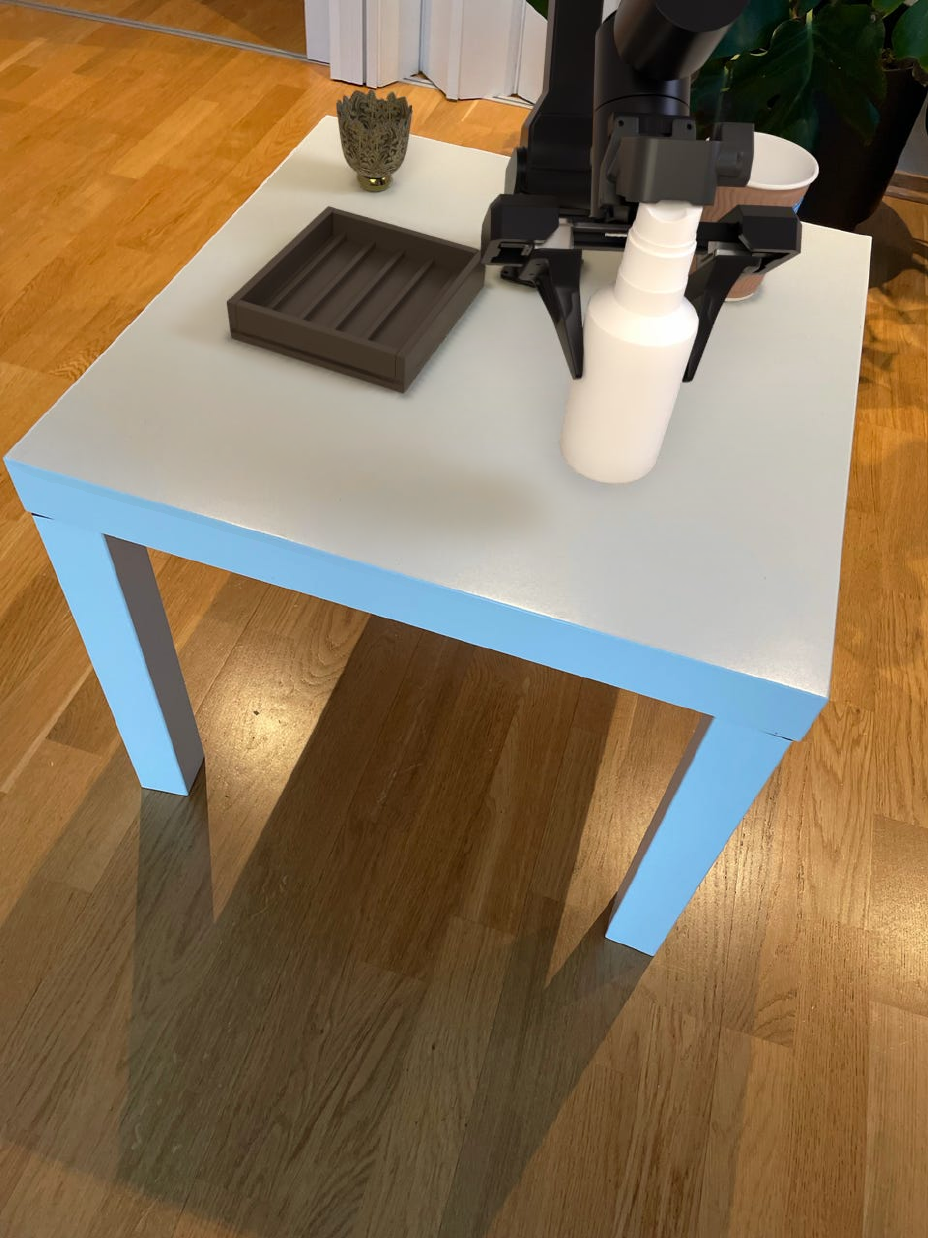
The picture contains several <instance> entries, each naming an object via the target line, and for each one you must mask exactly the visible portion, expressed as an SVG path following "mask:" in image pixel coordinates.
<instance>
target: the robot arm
mask: <svg viewBox="0 0 928 1238" xmlns="http://www.w3.org/2000/svg"><path fill="white" fill-rule="evenodd" d="M750 1H751V0H620V1H619V3H618V6H617V8H616V9H615V10H614V11H612V12H611V13H610V14H609V15H608V16H606V18H604V20H603V16H604V8H605V7H604V5H605V0H548V6H547V7H548V9H547V19H546V20H547V21H546V35H545V48H544V49H545V50H544V64H543V75H542V76H543V78H542V88H541V89H542V90H541V93H540V95H539V97H538V98H537V100H536V102H535V103H534V105H533V107H532V108H531V110H530V111H529V113H528V115H527V116H526V118H525V120H524V121H523V123H522V125H521V127H520V137H519V146H515V147H514V148H513V151H512V153H511V155H510V157H509V160H508V163H507V165H506V167H505V173H504V189H503V193H499V194H498V195H497V196H496V197H495V198H494V199H493V200H492V202H490V204H489V206H488V208H487V210H486V213H485V215H484V218H483V221H482V223H481V232H480V233H481V234H480V250H481V263H483V264H486V266H497V267H499V266H500V267H502V268H501V269H500V271H499V277H500V279H502V280H505V281H510V282H513V283H515V284H520V285H523V286H526V287H529V288H533V289H536V290H537V293H538V294H539V297H540V298H541V300H542V302H543V304H544V306H545V308H546V311H547V312H548V315H549V317H550V319H551V322H552V324H553V328H554V330H555V333H556V335H557V338H558V341H559V344H560V347H561V350H562V352H563V356H564V358H565V361H566V364H567V367H568V370H569V372H570V376H571V379H572V378H573V380H579V379H581V378H582V373H583V358H584V347H583V331H582V327H583V319H582V318H583V317H582V301H581V300H582V299H581V274H582V273H581V272H582V269H583V267H584V264H585V263H584V262H585V260H584V259H583V251H588V252H589V251H591V252H614V253H615V252H617V253H624V250H625V246H626V241H627V237H628V233H629V229H630V228H631V227H632V226H633V223H634V221H635V220H636V216H637V212H638V207H639V203H658V202H659V201H660V200H683V201H690V202H691V203H692V204H693V205H703V206H713V205H714V203H715V196H716V189H717V186H722V187H745V186H746V185H747V184H748V182H749V180H750V177H751V171H752V165H753V159H754V132H755V123H750V122H732V121H724V122H721V121H719V122H718V121H717V122H714V123H713V125H712V127H711V130H710V134H709V137H708V138H709V141H708V140H705V139H697V124H696V116H695V115H690V109H691V108H690V107H691V83H692V81H691V78H692V75H693V74H694V73H695V72H696V71H697V70H699V69H700V68H702V67H703V66H704V64H705V63H706V61H707V60H708V59H709V57H710V56H711V55H712V54H713V52H714V51H715V50H716V48H717V47H718V46H719V44H720V43H721V42H722V40H723V39H724V37H726V35H727V34H728V32H729V31H730V29H731V28H732V27H733V26H734V24H735V23H736V22H737V20H738V19H739V18H740V16H741V15H742V14H743V12H744V11H745V10H746V8H747V7H748V5H749V3H750ZM617 235H622V236H617ZM623 235H625V236H623ZM802 238H803V224H802V222H801V219H800V218H799V216H798V215H797V212H796V213H795V211H794V209H793V208H792V207H789V206H766V205H744V204H738V205H736V206H735V207H734V208H733V209H731V210H730V211H729V212H728V213H727V214H725V215H724V216H723V217H722V218H720V219H719V220H718V221H717V222H699V224H698V227H697V231H696V239H695V240H696V242H697V244H696V249H695V252H694V255H696V271H695V272H693V273H692V274H691V275H689V276H688V281H687V285H686V289H685V292H684V295H683V296H684V297H685V298H686V299H687V300H688V301H689V302H690V303H691V304H692V305H693V307H694V308H695V310H696V313H697V316H698V318H699V323H698V330H697V335H696V338H695V341H694V344H693V347H692V350H691V354H690V357H689V360H688V363H687V366H686V369H685V373H684V376H683V379H682V382H681V383H682V384H683V383H684V384H688V383H691V382H692V381H693V380H694V379H695V376H696V373H697V370H698V368H699V366H700V363H701V360H702V357H703V355H704V352H705V349H706V347H707V343H708V342H709V338H710V336H711V333H712V331H713V328H714V326H715V323H716V320H717V318H718V315H719V313H720V312H721V309H722V307H723V305H724V303H725V302H726V301H725V299H726V297H727V295H728V294H729V292H730V290H731V288H732V287H733V285H734V284H735V283H736V282H737V281H739V280H741V279H742V278H744V277H746V276H747V275H758V274H765V273H766V274H767V273H769V272H771V271H773V270H774V269H776V268H778V267H780V266H781V265H783V264H784V263H786V262H788V261H790V260H792V259H793V258H795V257H796V256H798V255H800V254H801V253H802V241H803V240H802ZM766 274H765V275H766Z"/></svg>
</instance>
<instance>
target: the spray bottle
mask: <svg viewBox="0 0 928 1238" xmlns="http://www.w3.org/2000/svg"><path fill="white" fill-rule="evenodd" d="M702 209H703V205H693V204H692V203H691V202H690V201H683V200H660V201H659V202H658V203H639V207H638V212H637V216H636V220H635V221H634V223H633V226H632V227H631V228H630V229H629V233H628V237H627V236H626V237H627V241H626V246H625V250H624V252H623V255H622V259H621V262H620V263H619V265H618V266H619V267H618V270H617V275H616V279H615V281H611V282H609V283H607V284H604V285H602V286H600V287H599V288H597V289H596V290H595V291H594V292H593V294H591V296H590V297H589V298H588V301H587V305H586V308H585V313H584V317H583V321H582V331H583V347H584V358H583V373H582V378H581V379H579V380H573V378H572V377H571V381H570V386H569V391H568V396H567V401H566V406H565V410H564V416H563V421H562V426H561V431H560V435H559V441H558V443H559V449H560V452H561V455H562V457H563V459H564V460H565V462H566V463H567V465H568V466H569V467H571V469H573V470H574V471H576V472H577V473H578V474H579V475H582V476H584V477H585V478H587V479H590V480H592V481H596V482H601V483H605V484H626V483H630V482H631V483H632V482H634V481H637V480H639V479H641V478H643V477H645V476H646V475H648V474H649V473H650V471H651V470H652V469H653V468H654V467H655V465H656V464H657V461H658V458H659V454H660V452H661V448H662V445H663V442H664V439H665V436H666V433H667V430H668V426H669V422H670V420H671V417H672V414H673V411H674V408H675V404H676V401H677V398H678V395H679V392H680V388H681V385H682V383H683V382H682V379H683V376H684V373H685V369H686V366H687V363H688V360H689V357H690V354H691V350H692V347H693V344H694V341H695V338H696V335H697V330H698V323H699V318H698V316H697V313H696V310H695V308H694V307H693V305H692V304H691V303H690V302H689V301H688V300H687V299H686V298H685V297H684V292H685V289H686V285H687V281H688V273H689V270H690V266H691V263H692V259H693V256H694V252H695V249H696V244H697V242H696V240H695V239H696V231H697V227H698V224H699V220H700V217H701V213H702Z"/></svg>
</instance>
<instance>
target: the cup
mask: <svg viewBox="0 0 928 1238" xmlns="http://www.w3.org/2000/svg"><path fill="white" fill-rule="evenodd" d="M335 106H336V115H337V116H336V117H337V124H338V130H339V138H340V145H341V149H342V153H343V157H344V159H345V161H346V163H347V165H348V166H349V168H350V169H352V170H353V172H355V173H356V176H355V177H356V182H357V183H358V186H360V188H362V189H364V190H366V191H368V192H382V191H385V190H387V189H388V188H389V187H390V185H391V184H392V181H393V175H394V174H395V173H396V172H397V171H399V170H400V169H401V166H402V165H403V163H404V161H405V158H406V154H407V151H408V145H409V138H410V133H411V132H410V131H411V125H412V117H413V105H412V104H410V105H409V102H408V100H407V97H406V96H400V97H398V98H397V95H396V93H395V92H393V91H390V92H389V93H388V94H387V95H386V98H385V99H384V98H383V97H380V98H377V95H376V91H375V90H373V89H369V90H368V92H367V93H366V92H364V91H361V90H358V89H355V90H354V91H353V92H352V94H350V97H349V96H348V95H346V94H343V95H342V100H341V99H337V101H336V103H335Z"/></svg>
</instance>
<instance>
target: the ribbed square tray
mask: <svg viewBox="0 0 928 1238" xmlns="http://www.w3.org/2000/svg"><path fill="white" fill-rule="evenodd" d="M486 266H487V265H486V264H483V263H481V249H479V248H476V247H473V246H469V245H466V244H462V243H458V242H455V241H452V240H448V239H445V238H441V237H438V236H434V235H431V234H427V233H425V232H424V233H423V232H420V231H417V230H413V229H409V228H406V227H403V226H399V225H395V224H393V223H389V222H385V221H381V220H378V219H376V218H375V219H374V218H371V217H367V216H364V215H362V214H358V213H354V212H350V211H348V210H343V209H339V208H336V207H333V206H330V205H328V206H327V207H325V208H324V210H322V211H321V212H320V213H319V214H318V215H317V216H316V217H315V218H314V219H313V220H311V222H309V223H308V224H307V225H306V226H305V227H304V228H303V229H302V230H301V231H300V232H298V234H297V235H295V236H294V237H293V239H291V240H290V241H289V242H288V243H287V244H286V245H285V246H284V247H283V248H282V249H280V251H278V253H277V254H275V255H274V257H272V258H271V259H270V260H269V261H268V262H267V263H266V264H265V265H263V267H262V268H260V269H259V270H258V271H257V272H256V273H255V274H254V275H253V276H252V277H251V278H250V279H248V281H246V282H245V284H243V285H242V287H240V288H239V289H238V290H237V291H236V292H235V293H234V294H233V295H232V296H231V297H230V298H229V299H227V300H226V309H227V310H226V311H227V317H228V323H229V331H230V338H231V339H233V340H235V341H239V342H241V343H245V344H248V345H252V346H255V347H257V348H260V349H264V350H267V351H270V352H273V353H277V354H280V355H282V356H286V357H289V358H291V359H294V360H298V361H300V362H305V363H307V364H310V365H313V366H317V367H320V368H323V369H326V370H330V371H333V372H335V373H339V374H341V375H345V376H348V377H351V378H354V379H357V380H361V381H364V382H367V383H370V384H373V385H376V386H379V387H382V388H385V389H389V390H392V391H393V392H394V391H395V392H398V393H401V394H405V393H406V391H407V390H408V388H409V387H410V386H411V384H412V383H413V382H414V381H415V379H416V378H417V376H418V375H419V373H421V371H422V370H423V368H424V367H425V365H426V364H427V363H428V361H430V359H431V357H432V356H433V355H434V353H436V351H437V349H439V347H440V345H441V344H442V343H443V341H444V340H445V339H446V338H447V336H448V335H449V334H450V332H452V330H453V328H454V327H455V325H456V324H457V323H458V322H459V320H460V318H461V317H462V316H463V315H464V314H465V312H466V311H467V309H468V308H469V307H470V306H471V304H472V303H473V302H474V300H475V299H476V297H477V296H478V295H479V293H480V292H481V291H482V289H483V288H484V287H485V278H486V277H485V276H486Z"/></svg>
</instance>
